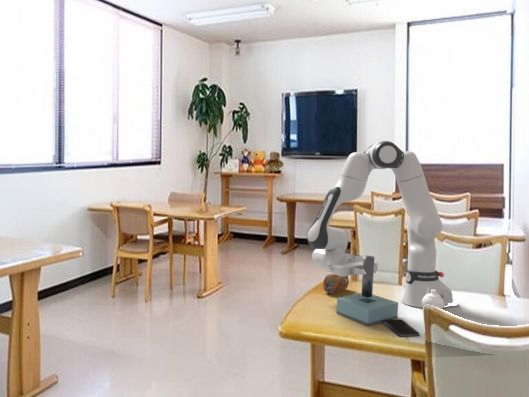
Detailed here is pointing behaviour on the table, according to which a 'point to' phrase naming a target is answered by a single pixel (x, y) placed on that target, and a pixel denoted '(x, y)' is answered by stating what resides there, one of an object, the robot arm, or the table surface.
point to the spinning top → (433, 299)
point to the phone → (400, 328)
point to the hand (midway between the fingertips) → (370, 271)
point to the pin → (368, 276)
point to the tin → (335, 283)
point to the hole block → (367, 309)
